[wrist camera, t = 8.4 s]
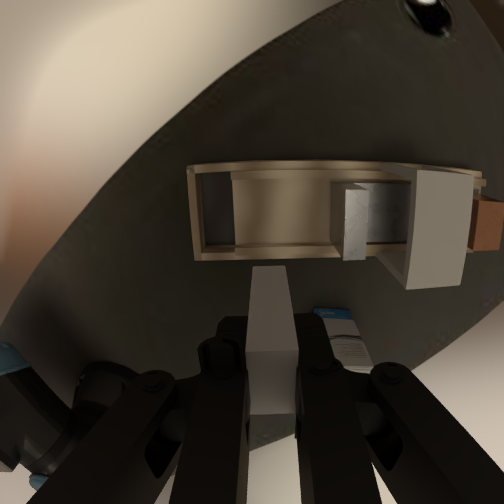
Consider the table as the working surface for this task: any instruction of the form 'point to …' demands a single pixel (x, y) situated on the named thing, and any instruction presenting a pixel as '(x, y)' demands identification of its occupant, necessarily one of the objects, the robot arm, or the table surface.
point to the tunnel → (433, 227)
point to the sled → (397, 217)
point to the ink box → (345, 339)
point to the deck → (278, 206)
